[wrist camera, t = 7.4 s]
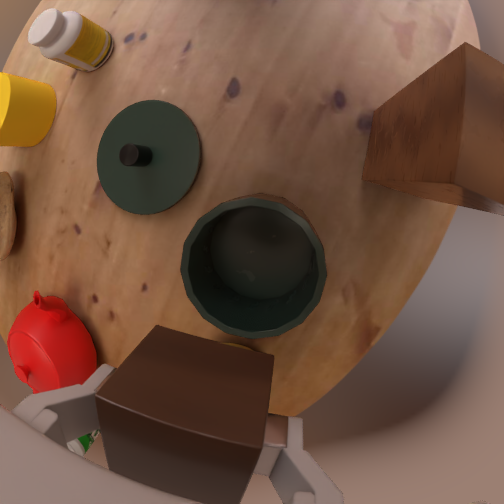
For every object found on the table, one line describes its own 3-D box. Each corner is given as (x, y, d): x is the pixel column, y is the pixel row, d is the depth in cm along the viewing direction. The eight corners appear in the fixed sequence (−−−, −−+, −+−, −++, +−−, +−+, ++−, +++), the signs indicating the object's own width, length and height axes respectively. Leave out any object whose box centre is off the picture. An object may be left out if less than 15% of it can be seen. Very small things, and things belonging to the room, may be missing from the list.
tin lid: (112, 100, 32) (92, 93, 27) (213, 106, 31) (201, 96, 26) (95, 204, 35) (73, 208, 31) (191, 223, 34) (176, 230, 30)
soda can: (87, 416, 45) (56, 455, 34) (71, 385, 44) (34, 423, 32) (118, 422, 44) (88, 467, 33) (102, 390, 43) (65, 434, 31)
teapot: (94, 405, 44) (60, 447, 32) (32, 357, 44) (-8, 388, 32) (125, 297, 38) (71, 339, 26) (45, 242, 38) (-15, 263, 26)
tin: (216, 183, 33) (192, 185, 25) (329, 207, 32) (342, 217, 24) (199, 288, 36) (174, 319, 28) (302, 312, 35) (304, 350, 27)
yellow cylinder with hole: (66, 94, 32) (20, 82, 23) (38, 157, 35) (-9, 157, 26) (33, 76, 32) (-9, 66, 23) (8, 133, 34) (-34, 131, 25)
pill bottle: (121, 30, 29) (72, -5, 18) (107, 72, 31) (50, 46, 20) (86, 34, 30) (35, 7, 19) (72, 74, 31) (15, 54, 20)
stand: (373, 110, 29) (465, 41, 10) (436, 133, 28) (557, 104, 9) (361, 179, 31) (453, 184, 12) (424, 198, 30) (547, 227, 11)
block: (156, 323, 11) (93, 394, 7) (275, 354, 11) (263, 448, 6) (152, 406, 12) (110, 477, 8) (250, 434, 12) (234, 517, 7)
